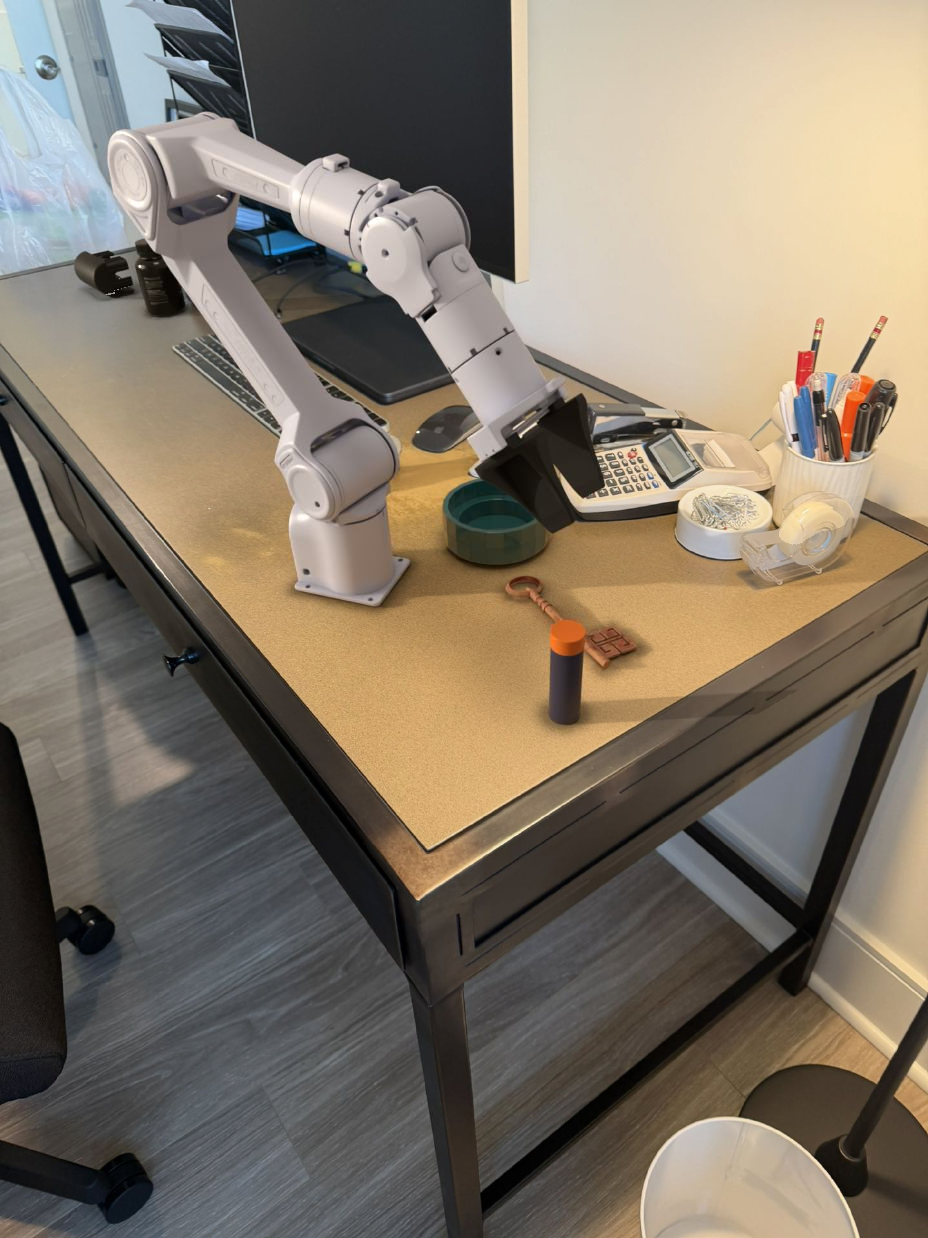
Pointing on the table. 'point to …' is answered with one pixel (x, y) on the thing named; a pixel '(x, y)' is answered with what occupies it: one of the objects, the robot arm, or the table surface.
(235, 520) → the table surface
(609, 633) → the key
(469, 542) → the bowl
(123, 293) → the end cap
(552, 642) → the glue stick
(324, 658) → the table surface
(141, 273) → the supplement bottle
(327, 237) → the robot arm
